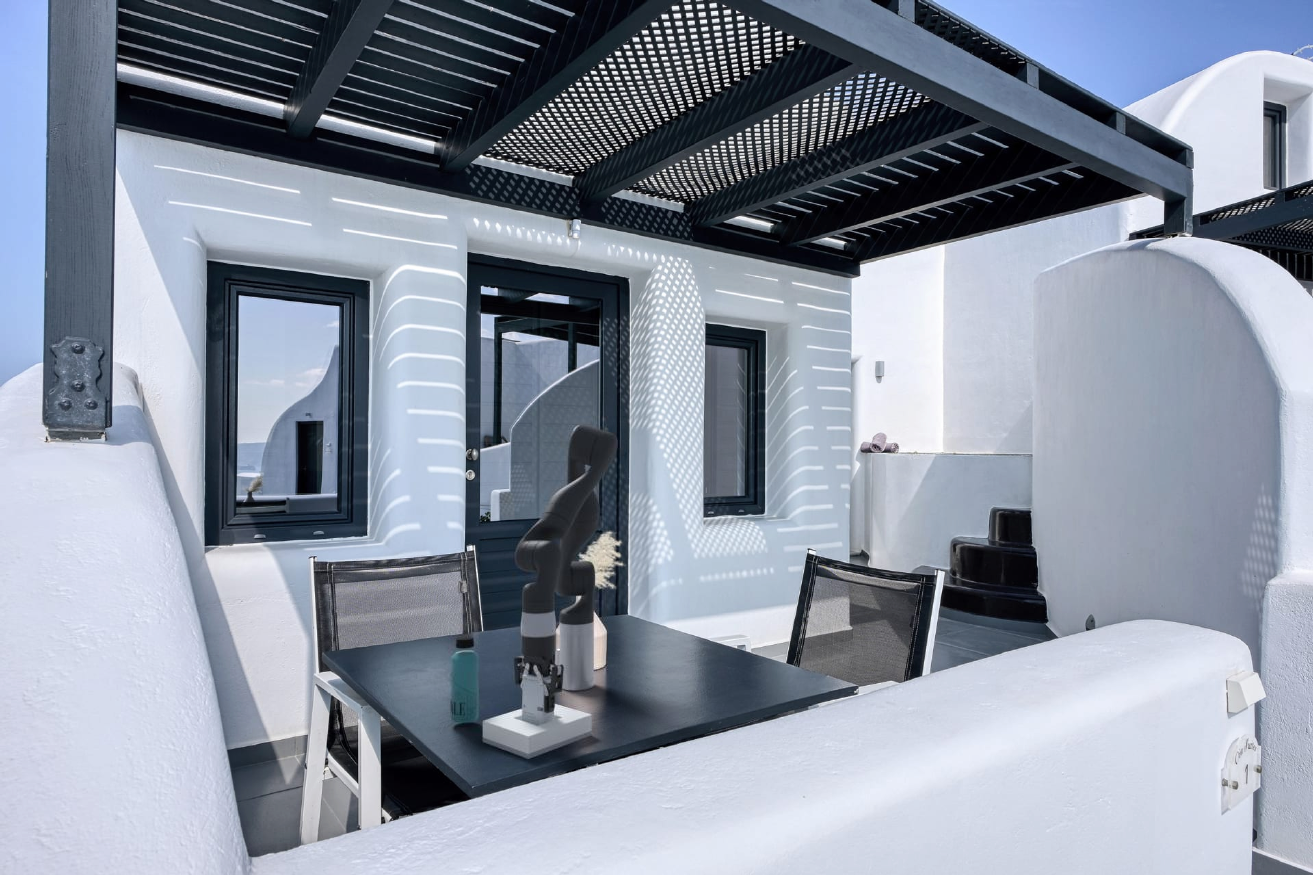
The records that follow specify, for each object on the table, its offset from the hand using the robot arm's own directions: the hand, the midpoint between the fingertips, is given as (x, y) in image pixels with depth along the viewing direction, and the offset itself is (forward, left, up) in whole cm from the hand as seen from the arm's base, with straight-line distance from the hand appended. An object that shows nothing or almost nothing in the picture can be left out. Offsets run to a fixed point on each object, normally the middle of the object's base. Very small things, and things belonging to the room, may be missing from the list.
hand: (538, 708), depth 171 cm
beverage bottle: (-19, -5, -7) cm, 21 cm away
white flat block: (0, 0, -6) cm, 6 cm away
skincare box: (0, 0, -5) cm, 5 cm away
